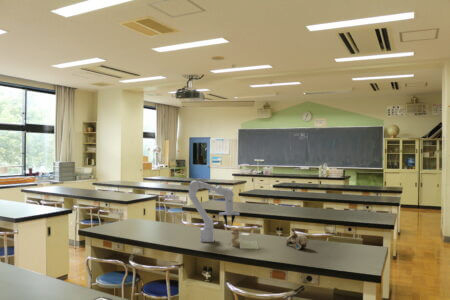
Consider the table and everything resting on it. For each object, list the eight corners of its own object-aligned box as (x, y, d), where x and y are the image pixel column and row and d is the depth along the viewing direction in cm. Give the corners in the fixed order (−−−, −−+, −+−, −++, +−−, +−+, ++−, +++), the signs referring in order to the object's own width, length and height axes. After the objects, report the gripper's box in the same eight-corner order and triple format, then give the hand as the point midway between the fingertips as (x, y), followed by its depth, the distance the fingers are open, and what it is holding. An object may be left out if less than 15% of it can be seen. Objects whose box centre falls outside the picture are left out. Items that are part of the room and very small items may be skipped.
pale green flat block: (239, 248, 225) (240, 246, 225) (238, 240, 245) (238, 238, 245) (259, 248, 225) (259, 246, 225) (256, 241, 245) (256, 239, 245)
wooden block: (231, 246, 231) (231, 232, 232) (231, 243, 239) (231, 229, 240) (238, 246, 231) (239, 232, 231) (238, 243, 239) (238, 230, 239)
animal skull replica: (290, 244, 239) (290, 229, 239) (311, 249, 226) (311, 234, 226) (282, 246, 234) (283, 231, 234) (303, 251, 221) (303, 236, 221)
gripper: (218, 207, 243) (218, 226, 243) (239, 207, 243) (239, 226, 243) (219, 205, 250) (219, 224, 250) (239, 205, 250) (239, 224, 250)
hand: (229, 225), depth 247 cm, fingers open, 3 cm apart
